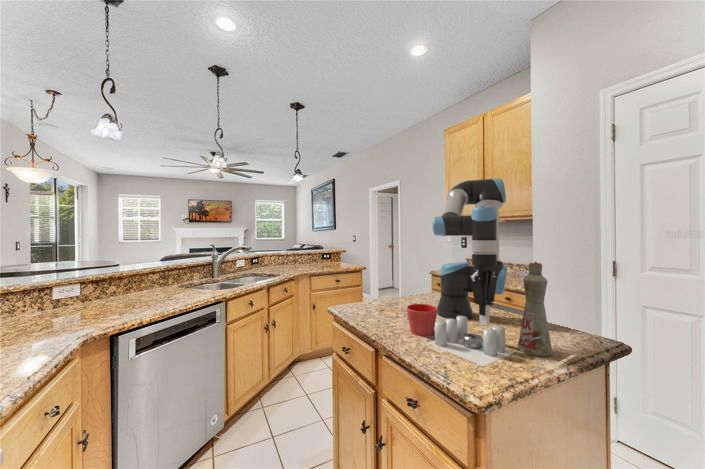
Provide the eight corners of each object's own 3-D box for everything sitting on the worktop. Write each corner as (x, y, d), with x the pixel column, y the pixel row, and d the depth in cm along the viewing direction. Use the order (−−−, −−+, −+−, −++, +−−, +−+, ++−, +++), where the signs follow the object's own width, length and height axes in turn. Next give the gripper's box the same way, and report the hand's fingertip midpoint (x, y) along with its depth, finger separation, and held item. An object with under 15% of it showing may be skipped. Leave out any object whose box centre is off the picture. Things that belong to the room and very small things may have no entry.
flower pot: (439, 340, 98) (438, 312, 98) (406, 338, 100) (406, 310, 100) (436, 329, 108) (436, 304, 108) (407, 328, 111) (406, 303, 110)
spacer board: (458, 334, 103) (458, 313, 103) (514, 354, 86) (514, 329, 86) (427, 344, 94) (427, 321, 94) (483, 368, 77) (482, 340, 77)
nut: (470, 341, 95) (470, 332, 95) (486, 346, 90) (485, 337, 90) (459, 345, 92) (459, 335, 92) (475, 351, 87) (475, 341, 87)
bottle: (557, 361, 81) (556, 263, 81) (521, 357, 84) (520, 262, 84) (548, 349, 89) (547, 260, 89) (515, 345, 92) (514, 259, 92)
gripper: (485, 252, 101) (485, 318, 101) (461, 253, 94) (462, 324, 94) (506, 253, 95) (506, 324, 95) (482, 254, 88) (483, 331, 88)
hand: (484, 324), depth 94 cm, fingers closed
